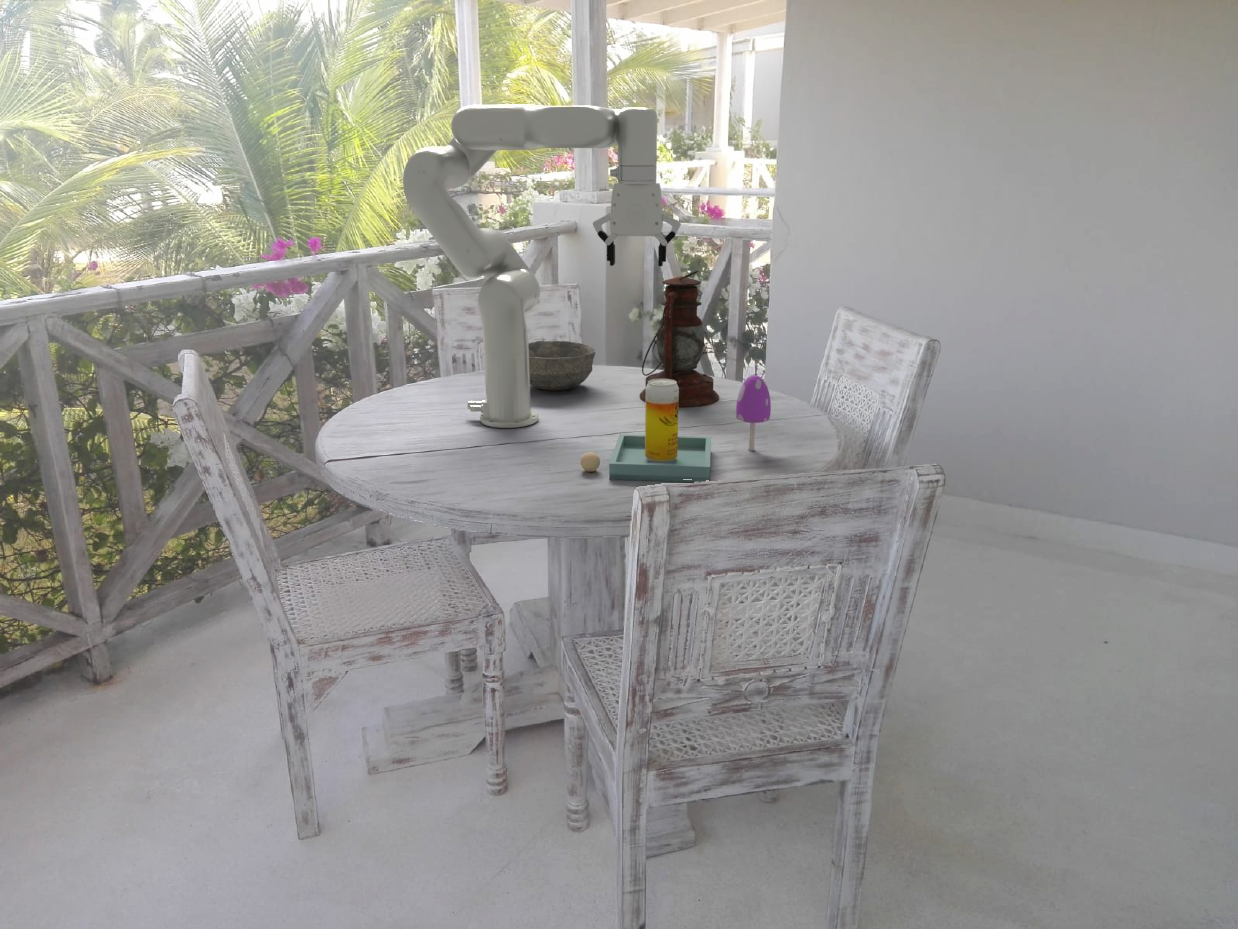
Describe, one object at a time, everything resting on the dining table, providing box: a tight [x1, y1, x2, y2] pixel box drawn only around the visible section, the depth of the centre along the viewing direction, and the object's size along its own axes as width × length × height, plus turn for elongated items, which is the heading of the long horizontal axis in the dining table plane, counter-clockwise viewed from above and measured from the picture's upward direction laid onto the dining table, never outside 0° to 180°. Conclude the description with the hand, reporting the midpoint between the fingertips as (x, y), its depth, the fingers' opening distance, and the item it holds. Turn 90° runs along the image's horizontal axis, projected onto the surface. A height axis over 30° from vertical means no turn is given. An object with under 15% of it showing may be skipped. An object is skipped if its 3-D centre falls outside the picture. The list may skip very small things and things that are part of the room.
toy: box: [735, 374, 772, 452], centre depth 184 cm, size 7×7×15 cm
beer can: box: [644, 379, 679, 464], centre depth 175 cm, size 6×6×15 cm
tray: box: [608, 433, 712, 483], centre depth 177 cm, size 18×18×3 cm
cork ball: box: [580, 451, 601, 473], centre depth 174 cm, size 4×4×4 cm
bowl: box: [528, 340, 597, 391], centre depth 231 cm, size 21×21×10 cm
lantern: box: [639, 270, 720, 409], centre depth 220 cm, size 19×19×30 cm
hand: (636, 265), depth 188 cm, fingers open, 9 cm apart
